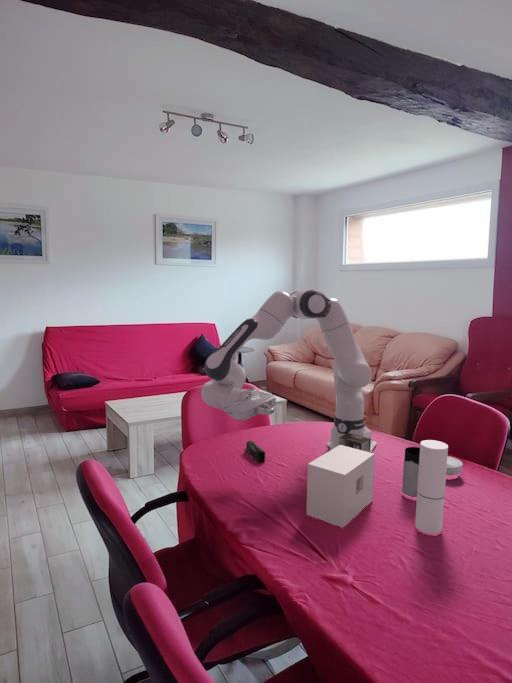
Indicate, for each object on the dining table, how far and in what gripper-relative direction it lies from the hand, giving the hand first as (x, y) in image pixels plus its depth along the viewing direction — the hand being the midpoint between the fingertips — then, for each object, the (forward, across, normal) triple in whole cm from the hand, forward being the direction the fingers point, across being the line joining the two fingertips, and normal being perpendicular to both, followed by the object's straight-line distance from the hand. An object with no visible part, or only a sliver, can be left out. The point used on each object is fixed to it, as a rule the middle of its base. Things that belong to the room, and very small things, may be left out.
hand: (271, 411), depth 155 cm
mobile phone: (-16, +14, +27) cm, 35 cm away
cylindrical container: (+54, +1, +21) cm, 58 cm away
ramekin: (+48, +42, +24) cm, 69 cm away
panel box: (+29, -3, +23) cm, 37 cm away
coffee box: (+25, +16, +24) cm, 38 cm away
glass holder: (+45, +22, +23) cm, 55 cm away
